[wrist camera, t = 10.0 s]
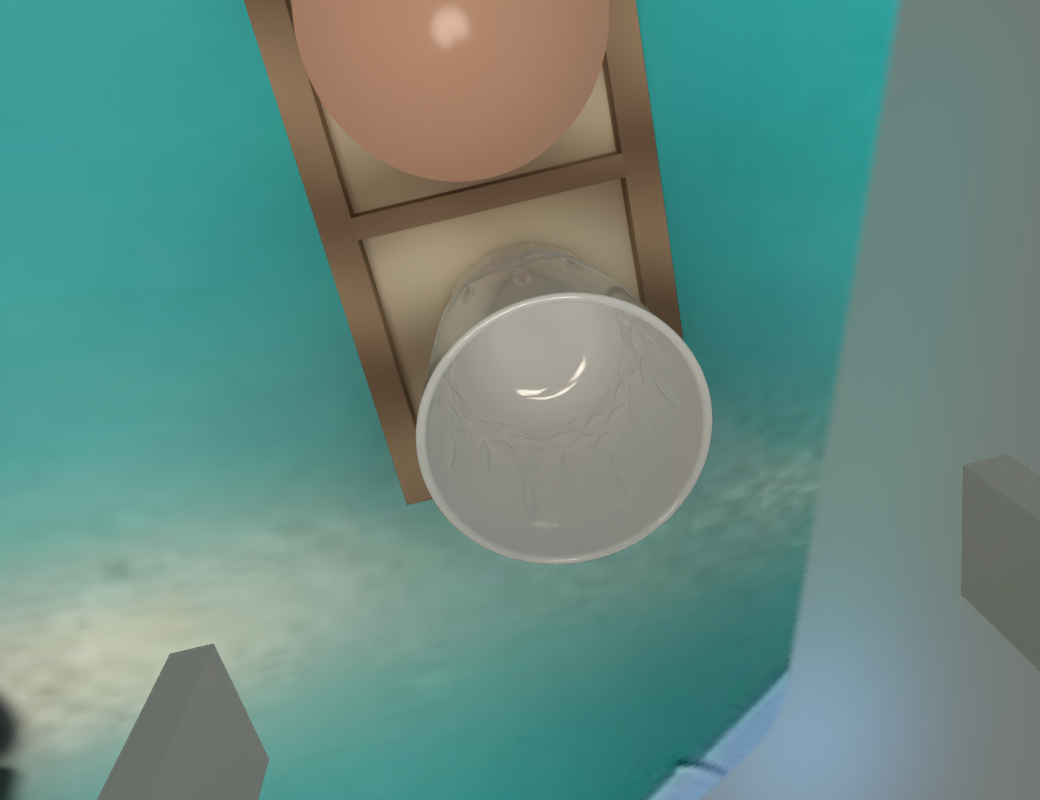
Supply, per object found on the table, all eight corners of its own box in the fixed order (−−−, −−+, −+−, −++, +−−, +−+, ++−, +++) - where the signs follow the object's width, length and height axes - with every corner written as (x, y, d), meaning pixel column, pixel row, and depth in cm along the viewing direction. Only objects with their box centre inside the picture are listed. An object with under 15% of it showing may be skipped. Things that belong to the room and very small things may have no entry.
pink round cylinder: (580, 129, 26) (632, 144, 19) (376, 178, 26) (347, 211, 19) (537, -116, 24) (578, -210, 16) (308, -61, 24) (243, -130, 16)
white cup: (671, 306, 29) (773, 405, 20) (547, 456, 31) (588, 609, 22) (508, 180, 27) (539, 227, 18) (386, 351, 29) (356, 474, 20)
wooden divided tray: (681, 414, 32) (696, 436, 30) (409, 478, 32) (407, 504, 30) (590, -204, 24) (603, -232, 22) (221, -116, 24) (200, -135, 22)
